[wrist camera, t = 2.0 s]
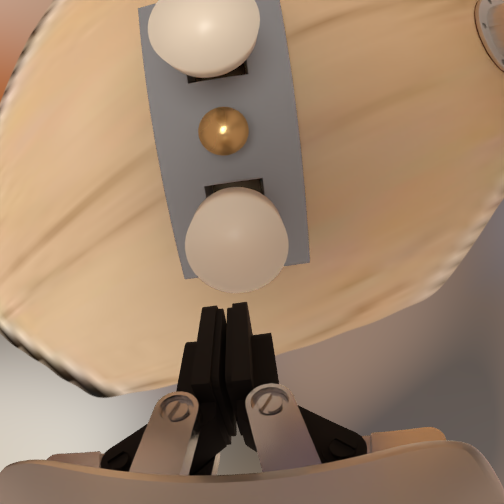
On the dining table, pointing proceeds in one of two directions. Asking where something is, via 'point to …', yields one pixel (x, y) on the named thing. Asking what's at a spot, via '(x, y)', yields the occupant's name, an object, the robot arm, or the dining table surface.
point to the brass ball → (223, 131)
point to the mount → (258, 142)
